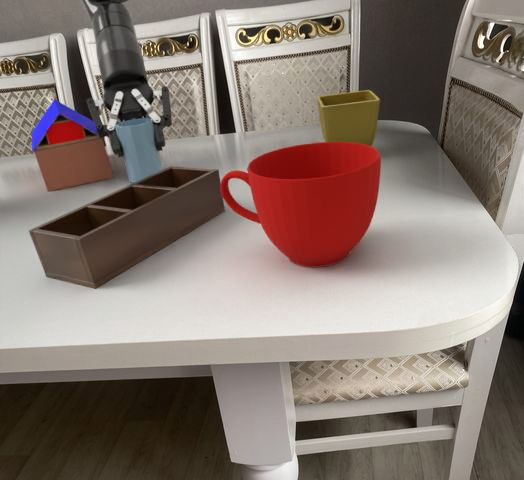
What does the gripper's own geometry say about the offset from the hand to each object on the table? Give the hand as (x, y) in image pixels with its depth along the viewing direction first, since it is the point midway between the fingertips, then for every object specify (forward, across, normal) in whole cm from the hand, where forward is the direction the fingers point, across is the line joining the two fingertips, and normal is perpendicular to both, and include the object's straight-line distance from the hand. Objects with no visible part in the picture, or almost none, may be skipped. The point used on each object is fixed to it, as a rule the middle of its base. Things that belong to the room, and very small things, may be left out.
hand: (140, 150), depth 86 cm
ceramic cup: (+32, +16, -25) cm, 44 cm away
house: (-7, -13, +14) cm, 20 cm away
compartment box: (+23, -2, -16) cm, 28 cm away
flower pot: (+9, +33, -2) cm, 34 cm away
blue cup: (+2, 0, +5) cm, 5 cm away
